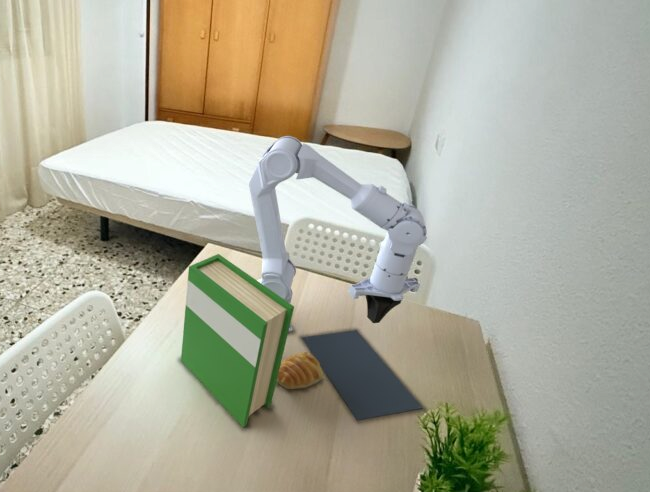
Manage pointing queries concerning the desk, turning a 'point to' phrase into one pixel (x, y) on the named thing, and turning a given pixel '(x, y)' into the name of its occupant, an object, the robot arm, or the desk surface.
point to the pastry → (299, 371)
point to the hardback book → (234, 335)
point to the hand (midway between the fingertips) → (373, 319)
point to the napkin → (360, 375)
